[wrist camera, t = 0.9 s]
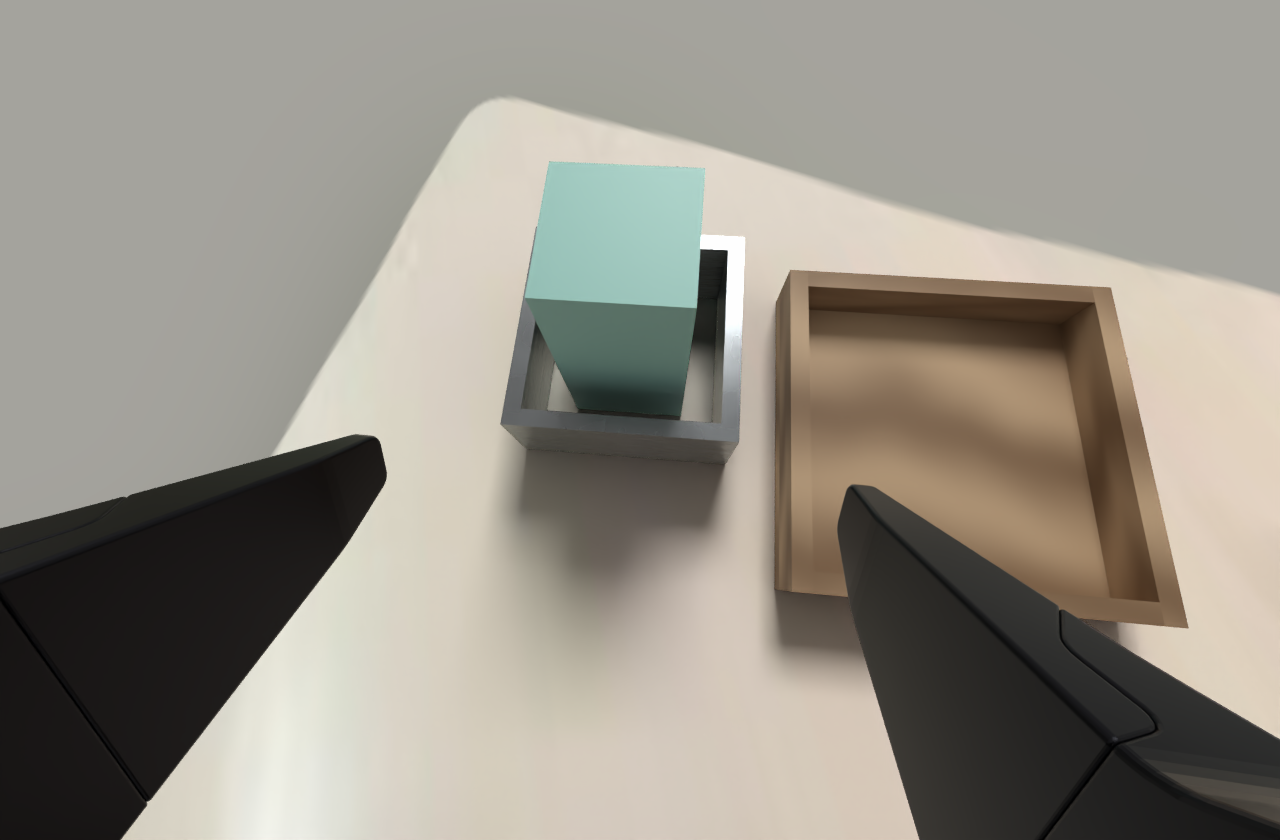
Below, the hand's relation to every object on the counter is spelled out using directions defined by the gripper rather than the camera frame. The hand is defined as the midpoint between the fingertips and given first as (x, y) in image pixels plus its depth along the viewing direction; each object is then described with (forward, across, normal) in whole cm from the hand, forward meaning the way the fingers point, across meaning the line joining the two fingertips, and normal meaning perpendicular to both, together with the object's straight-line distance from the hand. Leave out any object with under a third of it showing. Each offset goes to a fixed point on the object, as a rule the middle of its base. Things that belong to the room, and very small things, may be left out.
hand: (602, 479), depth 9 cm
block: (+15, +1, +3) cm, 16 cm away
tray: (+14, -13, +5) cm, 19 cm away
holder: (+15, +1, +3) cm, 15 cm away
